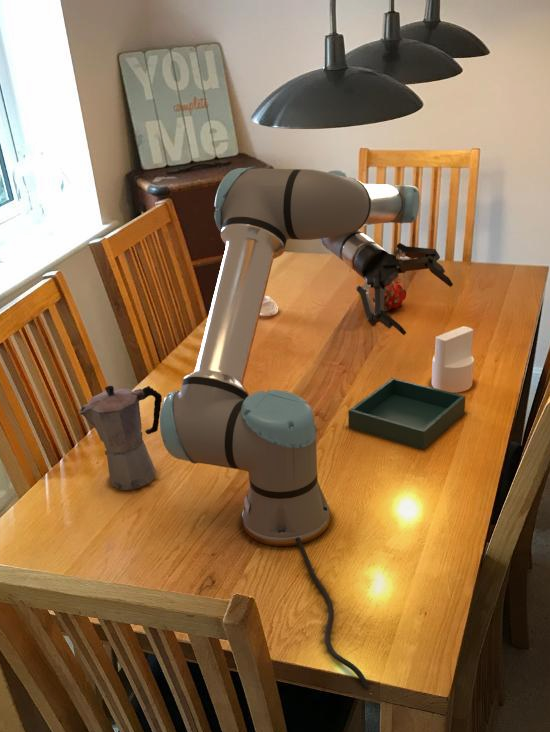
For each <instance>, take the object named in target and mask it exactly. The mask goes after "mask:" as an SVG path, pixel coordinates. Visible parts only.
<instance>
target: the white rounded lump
mask: <svg viewBox="0 0 550 732" xmlns="http://www.w3.org/2000/svg"><path fill="white" fill-rule="evenodd" d="M276 308H277V309H276ZM278 312H279V307H278V305H277V303H276V302H275V300H273V299H272V297H270V296H269V295H268V296H267V295H264V299H263V303H262V308H261V312H260V315H261V316H260V317H265V316H267V317H271V316H275V315H277V314H278ZM271 314H272V315H271Z"/></svg>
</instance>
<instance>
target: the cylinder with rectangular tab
mask: <svg viewBox="0 0 550 732" xmlns="http://www.w3.org/2000/svg"><path fill="white" fill-rule="evenodd" d="M434 342H435V344H434V355H433V356H432V362H431V363H432V365H431V387H432V388H435V389H439V390H443V391H447V392H451V393H455V394H458V393H462V392H465V391H468V390H469V389H471V388H472V387H473V379H474V366H475V365H474V364H475V358H474V356H473V345H474V344H473V343H474V329H473V328H471V327H469V326H466V325H463V326H460V327H457V328H455V329H452V330H450V331H447V332H444V333H442V334H439V335H437V336H435V341H434Z"/></svg>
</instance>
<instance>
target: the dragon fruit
mask: <svg viewBox="0 0 550 732" xmlns="http://www.w3.org/2000/svg"><path fill="white" fill-rule="evenodd" d="M373 290H374V291H375V289H374V288H373ZM406 298H407V290H406V289H405V286H404V284H403V283H402V281H400V280H398V279H397V278H396V279H394V280H393V281H392V283H391V284H390V285H389V286H386V287H385V294H384V311H386V312H390V311H391V310H392V309H396V310H397V309H401V308H402V307H403V301H404V300H405V299H406ZM372 302H373V303H375V293H374V294H373V297H372Z"/></svg>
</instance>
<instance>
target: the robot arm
mask: <svg viewBox="0 0 550 732" xmlns="http://www.w3.org/2000/svg"><path fill="white" fill-rule="evenodd" d="M420 197H421V195H420V191H419V189H418V187H417V186H414V185H407V184H382V183H381V184H378V183H377V184H376V183H363V182H361V181H360V180H358V179H357V178H354V177H350V176H349V175H348V174H347V173H346V172H343V171H341V170H330V171H327V172H326V171H322V170H317V169H307V168H302V169H301V168H299V169H298V168H264V167H263V168H262V167H260V166H249V167H238V168H234V169H232V170H230V171H229V172H228V173H226V174H225V175H224V176H223V178H222V180H221V182H220V184H219V186H218V188H217V190H216V195H215V200H214V207H215V211H214V212H213V213H214V221H215V225H216V227H217V229H218V231H219V232H220V238H221V240H222V242H223V243H224V245H225V250H224V254H223V258H222V261H221V265H220V270H219V273H218V277H217V281H216V285H215V289H214V293H213V297H212V301H211V305H210V309H209V312H208V317H207V320H206V326H205V328H204V332H203V338H202V341H201V345H200V348H199V353H198V355H197V360H196V364H195V368H194V371H193V372H191V373H188V374H187V375H185V376H184V377H183V379H182V383H181V386H180V390H174V391H170V392H169V393H168V394H167V395H166V396H165V397H164V399H163V400H162V403H161V408H160V409H161V410H160V416H159V429H160V437H161V439H162V443H163V445H164V448H165V449H166V451H167V453H169V454H170V456H171V457H173V458H175V459H177V460H182V461H186V462H190V463H191V464H196V465H197V464H204V465H210V466H216V467H222V468H229V469H234V470H240V471H246V472H248V479H249V480H248V481H249V489H248V493H247V495H246V494H245V495H244V499H243V505H244V507H243V510H242V514H241V515H242V525H243V529H244V531H245V533H246V534H247V535H248V536H249V537H250V538H251V539H253V540H255V541H256V542H258V543H261V544H264V545H268V546H272V547H273V546H274V547H294V546H297V547H298V549H299V551H300V554H301V555H302V559H303V561H304V563H305V566H306V568H307V571H308V573H309V575H310V577H311V579H312V581H313V582H314V584H315V585H316V587H317V588H318V590H319V592H320V593H321V595H322V596H323V599H324V600H325V603H326V605H327V610H328V616H327V622H326V626H325V630H324V643H325V647H326V649H327V651H328V653H329V654H330V656H331V657H333V658H334V659H335V660H336V661H337V662H339V663H341V664H342V665H343V666H345V667H347V668H348V669H350V670H351V671H352V672H354V674H355V675H356V677H357V678H358V680H359V681H360V682H361V685H362V687H363V690H365V691H370V685H369V682H368V680H367V679H366V677H365V675H364V674H363V672H362V671H361V670H360V668H358V667H357V666H356V665H355V664H353V663H352V662H351V661H350V660H348V659H346V658H344V657H343V656H341V655H340V654H338V653H337V651H336V650H335V649H334V648H333V645H332V642H331V631H332V627H333V622H334V614H335V613H334V605H333V602H332V599H331V597H330V595H329V593H328V592H327V590H326V589H325V587H324V586H323V584H322V583H321V582H320V579H319V578H318V575H316V572H315V571H314V568H313V566H312V563H311V561H310V559H309V556H308V554H307V551H306V549H305V547H304V544H305V543H309V542H311V541H313V540H315V539H317V538H318V537H320V536H321V535H323V534H324V533H325V531H326V530H327V529H328V527H329V525H330V521H331V520H330V517H331V515H330V507H329V504H328V502H327V499H326V497H325V495H324V492H323V490H322V488H321V486H320V483H319V481H318V457H317V433H318V432H317V427H316V422H315V416H314V411H313V409H312V406H311V405H309V403H308V402H307V401H306V400H305V399H304V398H303V397H301V396H300V395H298V394H295V393H293V392H289V391H285V390H278V389H268V390H267V391H264V390H259V391H256V392H255V391H254V392H253V393H251V394H250V393H249V392H248V390H247V388H246V387H245V385H244V381H245V377H246V373H247V368H248V364H249V359H250V357H251V353H252V349H253V345H254V344H253V343H254V340H255V336H256V333H257V328H258V324H259V320H260V317H261V316H260V312H261V308H262V303H263V299H264V297H265V296H266V291H267V287H268V283H269V279H270V275H271V270H272V267H273V262H274V260H275V259H277V258H279V257H281V256H282V255H283V254H284V253H285V249H286V245H287V242H288V240H298V241H299V240H301V241H309V240H310V241H311V240H319V242H320V243H322V245H323V246H324V248H325V249H327V250H329V251H330V252H331V253H332V254H334V255H335V256H336V257H337V258H338V259H339V260H341V261H342V262H344V263H345V264H346V265H347V266H348V267H350V268H351V269H352V270H353V271H354V272H355V273H356V274H357V275H359V276H360V277H361V278H362V279H364V281H365V283H364V284H363V285H362V286H361V285H357V286H356V288H355V291H356V292H357V293H358V294H359V295H360V299H361V303H362V306H363V310H364V314H365V317H366V320H367V322H368V323H369V324H370V326H371V327H376V325H377V324H378V323H380V324H382V325H384V326H385V328H387V329H389V330H390V329H392V327H394V329H396V330H397V331H398V332H399V333H400V334H401V335H403V336H405V335H406V334H407V331H406V330H405V328H404V327H403V326H402V325H400V323H398V322H397V321H396V320H395V319H394V318H393V317H392V316H390V315H389V314H388V313H387V312H385V310H384V294H385V287H386V286H389V285H390V284H391V283H392V281H393V280H394V279H396V280H397V279H398V277H399V274H405V273H406V272H411V271H421V270H429V271H430V273H431V274H432V275H434V276H435V277H437V278H438V279H439V280H440V281H442V282H443V283H444V284H445V285H447V286H448V287H450V288H452V287H453V285H454V283H453V282H452V280H451V278H450V277H449V276H448V275H446V274H445V272H446V270H445V268H444V267H443V265H442V264H440V263H439V262H438V261H439V260H440V258H441V256H440V254H439V253H438V250H437V249H435V248H427V247H415V246H408V245H405V244H403V243H401V242H399V243H397V245H396V248H397V249H396V250H395V251H394V253H390V252H388V251H386V249H384V248H383V247H382V246H380V245H379V244H377V242H375V241H374V240H373V239H372V238H370V236H368V235H367V234H365V233H364V232H363V231H361V228H362V227H364V226H370V225H378V224H388V223H389V224H390V223H391V224H392V223H393V224H397V223H398V224H412V223H415V221H416V219H417V218H418V215H419V211H420V204H421V203H420V202H421V200H420V199H421V198H420ZM405 257H407V258H410V259H399V258H405ZM370 288H372V289H373V290H374V289H375V290H374V294H375V302H374V309H373V305H372V301H371V297H370V296H369V295H370Z"/></svg>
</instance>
